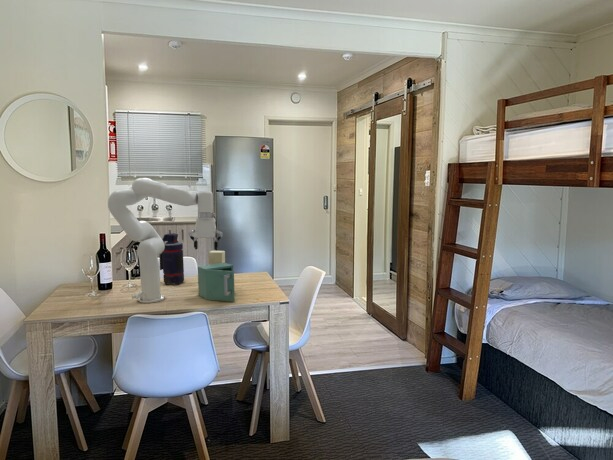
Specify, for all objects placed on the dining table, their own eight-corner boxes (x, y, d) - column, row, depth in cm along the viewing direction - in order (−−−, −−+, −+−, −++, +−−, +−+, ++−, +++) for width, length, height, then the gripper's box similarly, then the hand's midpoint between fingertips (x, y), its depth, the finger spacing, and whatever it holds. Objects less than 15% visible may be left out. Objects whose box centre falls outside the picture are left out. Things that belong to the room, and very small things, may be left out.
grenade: (187, 281, 273) (185, 232, 270) (179, 285, 262) (176, 235, 258) (166, 280, 275) (163, 232, 272) (157, 285, 264) (154, 234, 260)
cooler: (234, 294, 241) (233, 265, 239) (206, 299, 232) (205, 269, 230) (225, 290, 249) (224, 262, 247) (198, 295, 240) (197, 266, 238)
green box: (229, 304, 221) (228, 273, 219) (200, 302, 226) (199, 271, 224) (234, 301, 226) (233, 271, 224) (207, 299, 231) (206, 269, 230)
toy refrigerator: (226, 285, 260) (225, 250, 258) (222, 288, 253) (221, 252, 251) (213, 285, 261) (211, 250, 259) (209, 288, 254) (207, 252, 251)
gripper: (223, 215, 229) (224, 248, 231) (189, 214, 228) (190, 247, 230) (221, 216, 221) (222, 250, 223) (186, 216, 220) (187, 250, 222)
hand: (205, 249), depth 227 cm, fingers open, 9 cm apart
